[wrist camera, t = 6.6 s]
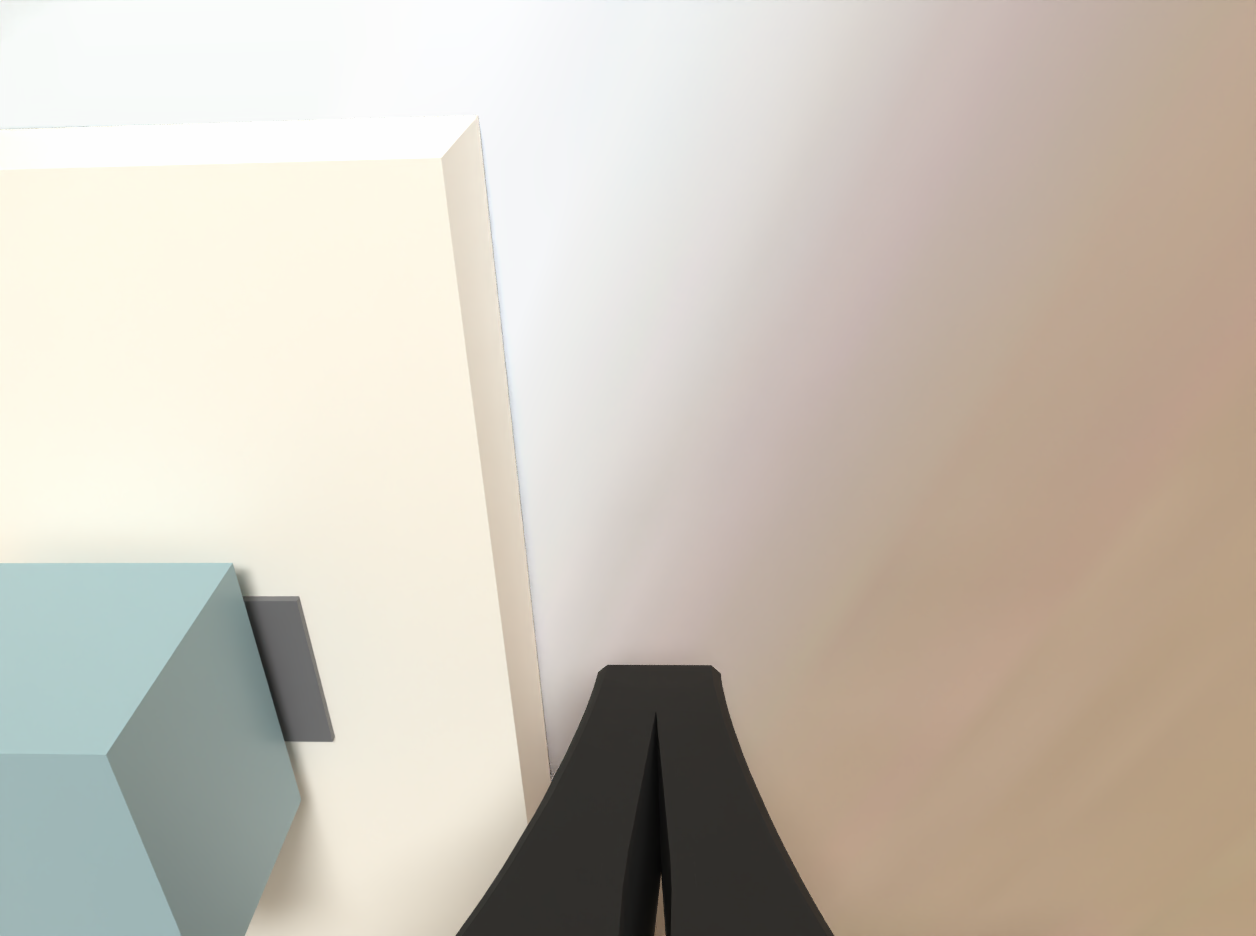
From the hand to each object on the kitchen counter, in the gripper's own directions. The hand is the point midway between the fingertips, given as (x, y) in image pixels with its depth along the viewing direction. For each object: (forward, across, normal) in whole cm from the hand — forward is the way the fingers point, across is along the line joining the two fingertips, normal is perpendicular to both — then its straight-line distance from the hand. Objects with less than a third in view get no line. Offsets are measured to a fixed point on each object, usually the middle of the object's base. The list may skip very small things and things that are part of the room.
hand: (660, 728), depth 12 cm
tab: (+1, +7, 0) cm, 7 cm away
